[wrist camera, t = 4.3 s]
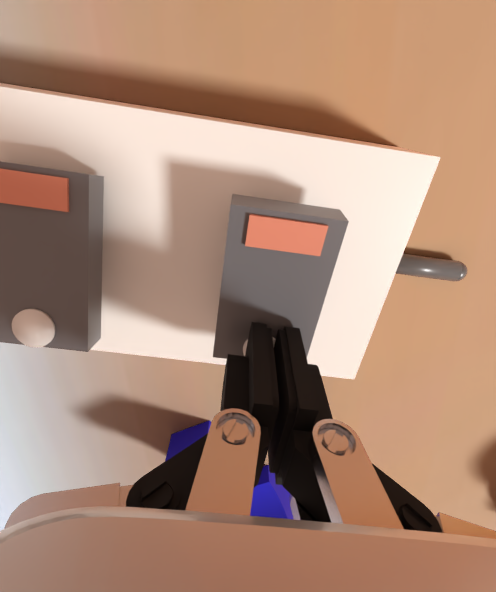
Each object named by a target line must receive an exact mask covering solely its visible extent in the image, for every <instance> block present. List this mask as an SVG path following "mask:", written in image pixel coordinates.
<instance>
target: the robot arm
mask: <svg viewBox="0 0 496 592" xmlns="http://www.w3.org/2000/svg"><path fill="white" fill-rule="evenodd" d="M267 451H268V458H269V471H270V473H275V482H276V484H277V485H283V487H284V488H285V489H286V490H287V491H288V492H289V493H290V496H289V499H290V506H291V510H292V515H293V519H283V518H271V517H259V516H250V512H251V504H252V497H253V489H254V487H255V486H256V485H258V483H259V479H260V476H261V472H262V469H263V465H264V462H265V458H266V455H267ZM0 592H496V531H494V530H491V529H488V528H485V527H482V526H479V525H476V524H473V523H470V522H467V521H464V520H461V519H458V518H455V517H452V516H449V515H446V514H443V513H440V512H439V513H438V514H437V515H433V513H432V512H431V511H430V510H429V509H428V508H427V507H426V506H425V505H424V504H423V503H422V502H420V501H419V500H418V499H416V498H415V497H414V496H413V495H411V494H410V493H409V492H408V491H406V490H405V489H404V488H403V487H401V486H400V485H399V484H397V483H396V482H395V481H394V480H392V479H391V478H390V477H389V476H387V475H386V474H385V473H384V472H382V471H381V470H380V469H378V468H377V467H376V466H375V465H373V464H372V463H371V461H370V459H369V457H368V455H367V453H366V451H365V449H364V447H363V444H362V442H361V440H360V438H359V437H358V435H357V434H356V432H355V431H354V430H353V429H352V428H351V427H350V426H348V425H346V424H345V423H343V422H341V421H338V420H334V419H333V418H332V415H331V411H330V407H329V404H328V400H327V396H326V393H325V389H324V385H323V382H322V378H321V374H320V371H319V368H318V366H317V365H313V364H308V362H307V358H306V353H305V349H304V345H303V341H302V336H301V332H300V329H299V328H295V327H287V326H284V328H283V330H281V329H279V330H278V332H277V336H276V340H275V345H274V346H273V337H272V329H271V328H267V325H266V324H264V323H256V322H252V323H251V327H250V332H249V338H248V343H247V348H246V354H245V356H239V355H231V354H228V355H227V361H226V367H225V374H224V382H223V390H222V401H221V412H219V413H218V414H217V415H216V416H215V417H214V418H213V420H212V422H211V425H210V429H209V432H208V434H206V435H205V436H203V437H202V438H200V439H199V440H197V441H196V442H194V443H193V444H191V445H190V446H188V447H187V448H185V449H184V450H182V451H181V452H179V453H178V454H176V455H175V456H173V457H172V458H170V459H169V460H167V461H166V462H164V463H162V464H161V465H159V466H158V467H156V468H155V469H153V470H152V471H150V472H149V473H147V474H146V475H144V476H143V477H141V478H140V479H139V480H138V481H137V482H136V483H135V484H134V485H128V486H121V487H120V483H115V484H108V485H101V486H94V487H87V488H80V489H73V490H66V491H59V492H52V493H44V494H40V495H37V496H34V497H31V498H30V499H28V500H26V501H25V502H23V503H22V504H20V505H19V506H18V507H17V508H16V509H15V510H14V512H13V513H12V514H11V516H10V517H9V519H8V521H7V523H6V525H5V528H4V529H3V530H1V531H0Z"/></svg>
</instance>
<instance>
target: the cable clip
mask: <svg viewBox="0 0 496 592" xmlns="http://www.w3.org/2000/svg"><path fill="white" fill-rule="evenodd" d="M210 425H211V422H210V421H206V422H204V423H201V424H198V425H195V426H193V427H190V428H187V429H184V430H182V431H179V432H176V433H174V434H172V435H171V439H170V443H169V448H168V452H167V456H166V460H165V462H166V461H167V460H169V459H170V458H172V457H173V456H175V455H176V454H178V453H179V452H181V451H182V450H184V449H185V448H187V447H188V446H190V445H191V444H193V443H194V442H196V441H197V440H199V439H200V438H202V437H203V436H205V435H206V434H208V432H209V429H210ZM289 496H290V493H289V492H288V491H287V490H286V489H285V488H284V487H283V485H277V484H276V482H275V473H270V471H269V465H266V466H263V469H262V472H261V476H260V479H259V483H258V485H256V486H255V487H254V489H253V497H252V504H251V512H250V516H259V517H271V518H283V519H293V515H292V510H291V506H290V499H289Z"/></svg>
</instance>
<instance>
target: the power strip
mask: <svg viewBox="0 0 496 592" xmlns="http://www.w3.org/2000/svg"><path fill="white" fill-rule="evenodd" d="M439 160H440V157H437V156H433V155H429V154H425V153H421V152H417V151H413V150H409V149H405V148H401V147H395V146H389V145H382V144H376V143H370V142H364V141H358V140H351V139H345V138H339V137H333V136H327V135H320V134H314V133H308V132H302V131H296V130H289V129H283V128H277V127H271V126H265V125H259V124H252V123H246V122H240V121H234V120H228V119H221V118H215V117H209V116H203V115H197V114H190V113H184V112H178V111H172V110H166V109H160V108H153V107H147V106H141V105H135V104H129V103H122V102H116V101H110V100H104V99H98V98H91V97H85V96H79V95H73V94H67V93H60V92H54V91H48V90H42V89H36V88H30V87H23V86H17V85H11V84H5V83H0V161H2V162H9V163H16V164H22V165H29V166H36V167H43V168H50V169H57V170H63V171H70V172H77V173H84V174H91V175H98V176H104V195H103V250H102V306H101V338H100V340H99V341H98V342H97V343H96V344H95V345H94V346H93V347H92V348H91V349H90V350H98V351H107V352H116V353H125V354H134V355H143V356H152V357H161V358H169V359H178V360H187V361H196V362H205V363H214V364H223V365H226V361H227V359H224V358H215V357H213V350H214V341H215V332H216V324H217V315H218V307H219V298H220V290H221V281H222V273H223V264H224V256H225V247H226V239H227V230H228V222H229V213H230V205H231V199H232V194H238V195H245V196H251V197H258V198H265V199H272V200H279V201H286V202H292V203H299V204H306V205H313V206H320V207H326V208H333V209H340V210H341V212H342V213H343V214H344V216H345V217H346V218H347V220H348V221H349V222H348V225H347V229H346V232H345V235H344V238H343V242H342V245H341V248H340V251H339V255H338V258H337V261H336V264H335V268H334V271H333V274H332V277H331V281H330V284H329V287H328V290H327V294H326V297H325V300H324V303H323V307H322V310H321V313H320V316H319V320H318V323H317V326H316V329H315V333H314V336H313V339H312V342H311V346H310V349H309V352H308V355H307V362H308V364H313V365H317V366H318V368H319V371H320V374H321V376H329V377H338V378H347V379H355V376H356V373H357V371H358V368H359V366H360V363H361V361H362V358H363V355H364V353H365V350H366V348H367V345H368V343H369V340H370V337H371V335H372V332H373V330H374V327H375V325H376V322H377V319H378V317H379V314H380V312H381V309H382V307H383V304H384V301H385V299H386V296H387V294H388V291H389V289H390V286H391V283H392V281H393V278H394V276H395V273H396V274H404V275H411V276H419V277H426V278H433V279H441V280H448V281H459V280H462V279H463V278H464V277H465V276H466V274H467V267H466V266H465V265H464V264H463V263H462V262H459V261H453V260H446V259H439V258H431V257H424V256H417V255H410V254H403V252H404V250H405V247H406V245H407V242H408V240H409V237H410V234H411V232H412V229H413V227H414V224H415V222H416V219H417V216H418V214H419V211H420V209H421V206H422V204H423V201H424V198H425V196H426V193H427V191H428V188H429V186H430V183H431V180H432V178H433V175H434V173H435V170H436V168H437V165H438V162H439Z"/></svg>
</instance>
